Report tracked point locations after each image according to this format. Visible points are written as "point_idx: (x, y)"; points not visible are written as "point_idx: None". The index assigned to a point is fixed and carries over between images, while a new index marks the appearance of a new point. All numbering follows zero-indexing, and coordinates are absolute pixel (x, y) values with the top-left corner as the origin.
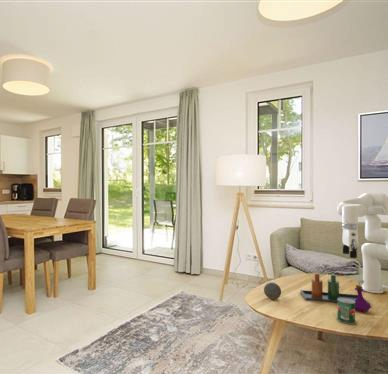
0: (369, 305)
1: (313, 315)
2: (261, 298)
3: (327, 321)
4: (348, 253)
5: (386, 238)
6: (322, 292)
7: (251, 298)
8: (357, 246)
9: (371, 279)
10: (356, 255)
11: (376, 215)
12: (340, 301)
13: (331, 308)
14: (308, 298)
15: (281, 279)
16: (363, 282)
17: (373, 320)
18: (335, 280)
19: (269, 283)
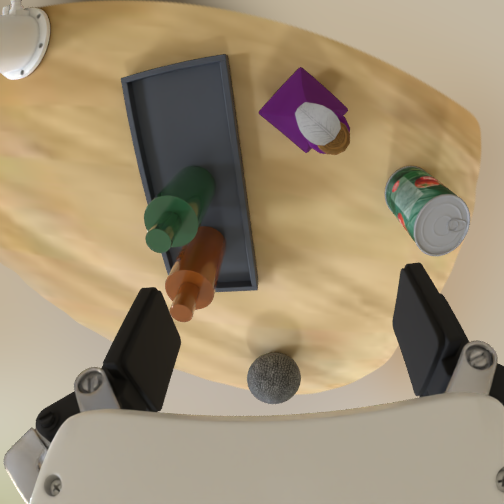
0: (306, 75)
1: (384, 277)
2: None
3: None
4: (159, 297)
5: None
6: (206, 240)
7: None
8: (485, 405)
9: (6, 42)
10: (431, 286)
11: None
12: (452, 249)
13: (305, 211)
14: (256, 281)
15: (75, 315)
16: (7, 69)
17: (382, 92)
18: (175, 217)
19: (276, 403)
